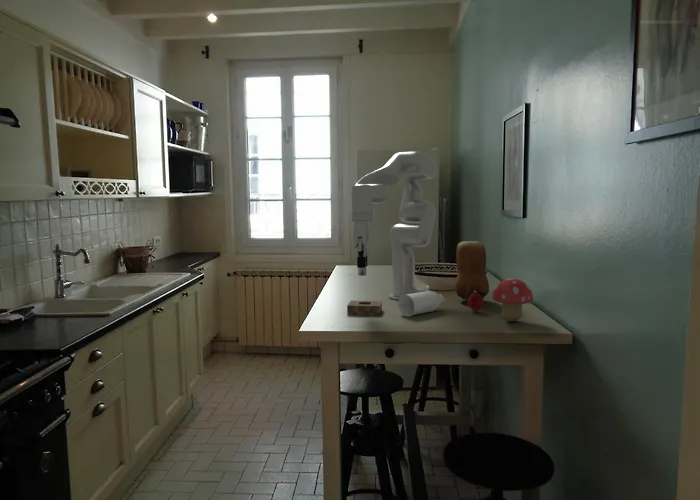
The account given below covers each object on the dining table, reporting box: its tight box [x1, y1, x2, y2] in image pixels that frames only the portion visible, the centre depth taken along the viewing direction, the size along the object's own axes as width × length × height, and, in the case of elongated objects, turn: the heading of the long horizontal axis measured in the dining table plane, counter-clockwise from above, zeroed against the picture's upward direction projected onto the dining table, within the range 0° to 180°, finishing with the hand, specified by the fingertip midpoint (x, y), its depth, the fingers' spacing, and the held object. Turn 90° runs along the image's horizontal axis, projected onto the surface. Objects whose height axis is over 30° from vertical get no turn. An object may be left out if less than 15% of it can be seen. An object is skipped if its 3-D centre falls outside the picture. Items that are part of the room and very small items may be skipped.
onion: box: [467, 291, 485, 313], centre depth 194 cm, size 6×6×8 cm
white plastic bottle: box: [397, 290, 445, 317], centre depth 194 cm, size 8×19×8 cm, turn 128°
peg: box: [357, 248, 367, 277], centre depth 195 cm, size 3×3×10 cm
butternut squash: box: [454, 240, 490, 302], centre depth 212 cm, size 14×13×25 cm
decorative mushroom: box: [491, 277, 534, 323], centre depth 178 cm, size 13×13×15 cm
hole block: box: [346, 300, 383, 317], centre depth 196 cm, size 12×9×4 cm
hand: (362, 266), depth 195 cm, fingers closed on peg, 3 cm apart
